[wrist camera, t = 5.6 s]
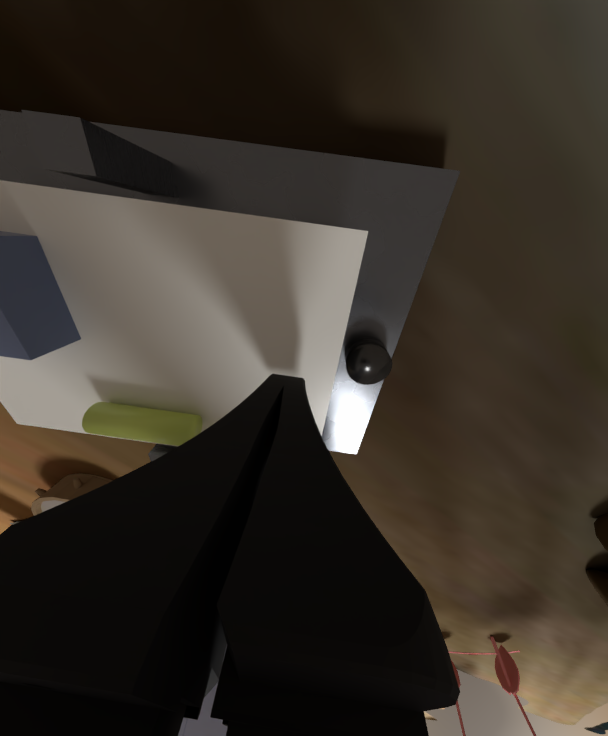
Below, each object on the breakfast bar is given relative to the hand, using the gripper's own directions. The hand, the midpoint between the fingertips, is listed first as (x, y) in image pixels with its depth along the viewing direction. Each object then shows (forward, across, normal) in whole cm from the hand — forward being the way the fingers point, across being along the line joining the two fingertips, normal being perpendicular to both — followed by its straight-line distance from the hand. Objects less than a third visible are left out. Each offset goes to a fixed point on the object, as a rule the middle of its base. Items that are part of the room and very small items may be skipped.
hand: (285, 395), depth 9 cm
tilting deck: (+2, +7, 0) cm, 7 cm away
